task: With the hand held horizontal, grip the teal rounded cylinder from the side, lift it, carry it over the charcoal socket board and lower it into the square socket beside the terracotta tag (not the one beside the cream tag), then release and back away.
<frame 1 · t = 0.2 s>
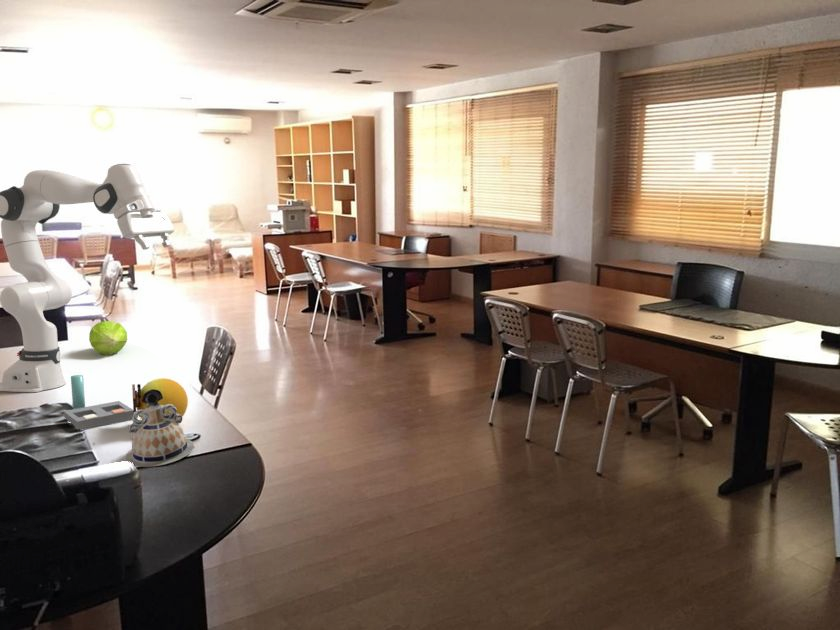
hand: (157, 247, 222), 54 cm above the table, fingers open, 8 cm apart
socket board: (99, 419, 215), on the table
figurine: (160, 455, 189), on the table
emoji: (161, 426, 211), on the table
teal rounded cylinder: (79, 411, 223), on the table
lettuce: (109, 353, 303), on the table
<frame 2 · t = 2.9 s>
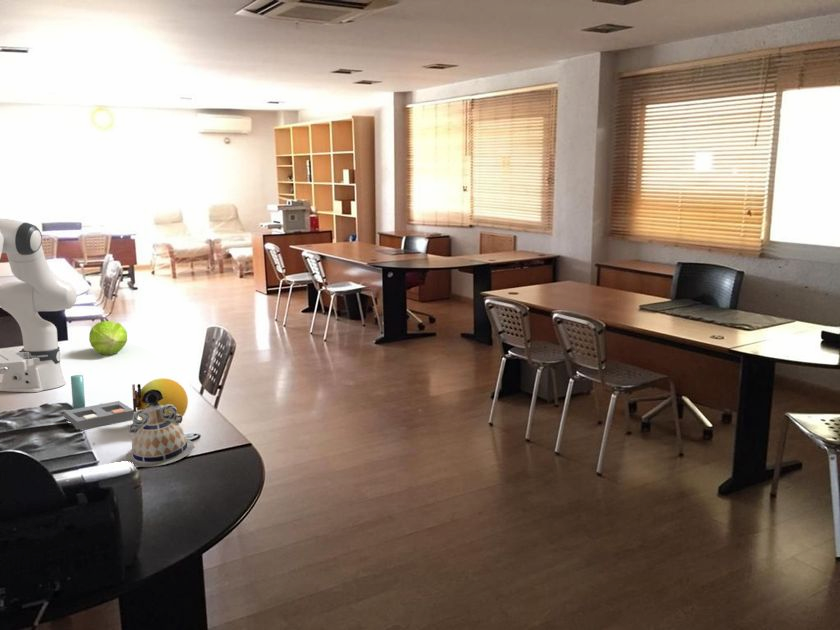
hand: (34, 357, 211), 20 cm above the table, fingers open, 8 cm apart
nothing on the table moved.
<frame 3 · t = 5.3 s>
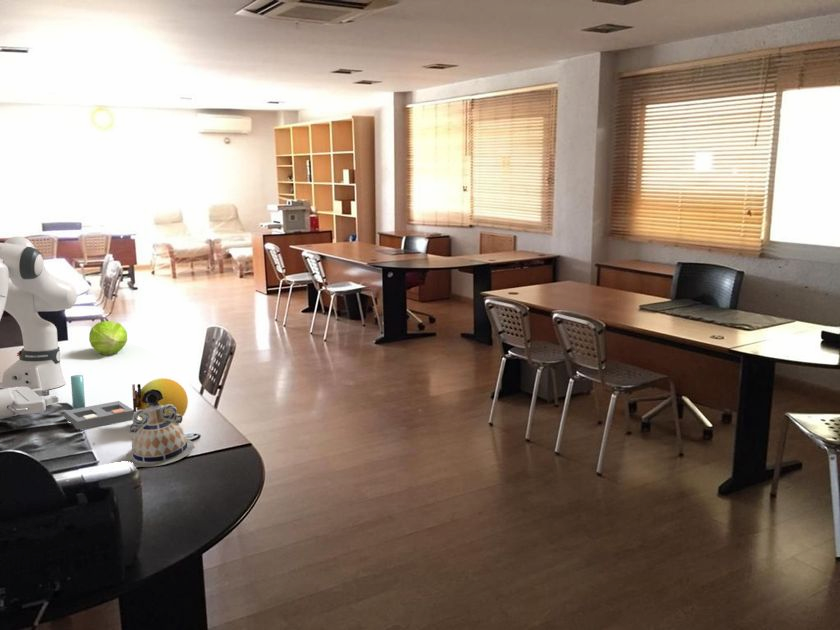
hand: (53, 395, 217), 7 cm above the table, fingers open, 8 cm apart
nothing on the table moved.
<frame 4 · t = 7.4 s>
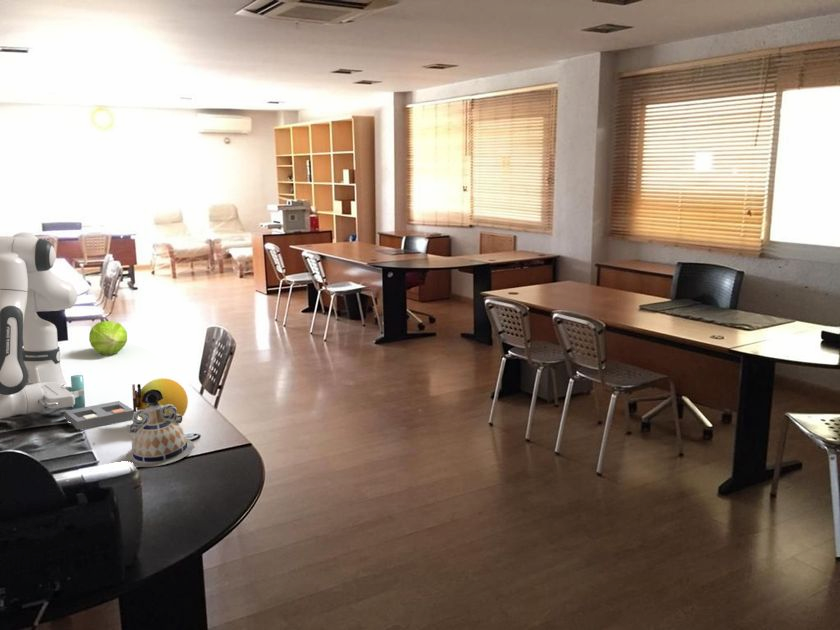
hand: (80, 390, 222), 7 cm above the table, fingers closed on teal rounded cylinder, 4 cm apart
teal rounded cylinder: (79, 411, 223), on the table, touching gripper
everything else where it was.
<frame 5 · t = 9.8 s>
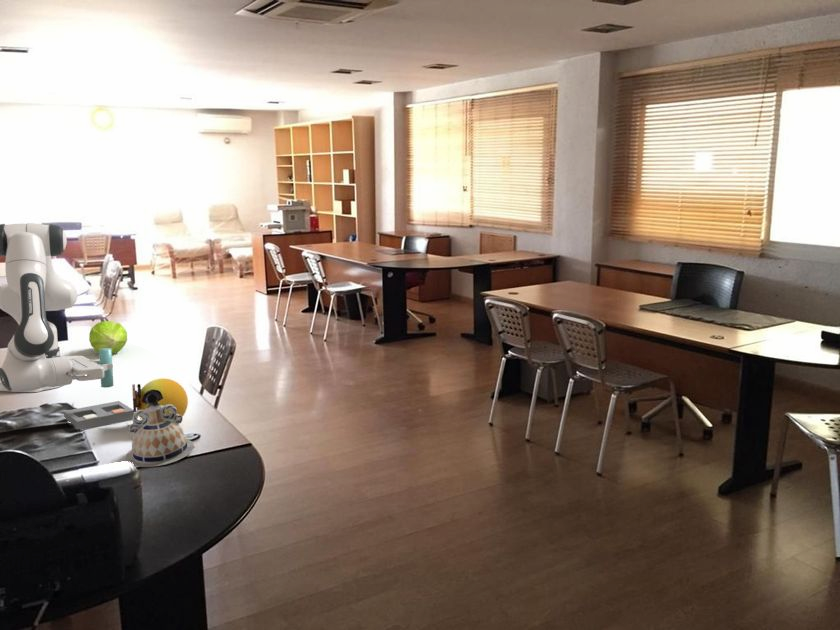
hand: (109, 364, 216), 17 cm above the table, fingers closed on teal rounded cylinder, 4 cm apart
teal rounded cylinder: (107, 386, 216), point 10 cm above the table, touching gripper
everything else where it was.
when the fingers open (8 cm above the table, at t = 12.5 s): teal rounded cylinder stays where it is, resting in socket board.
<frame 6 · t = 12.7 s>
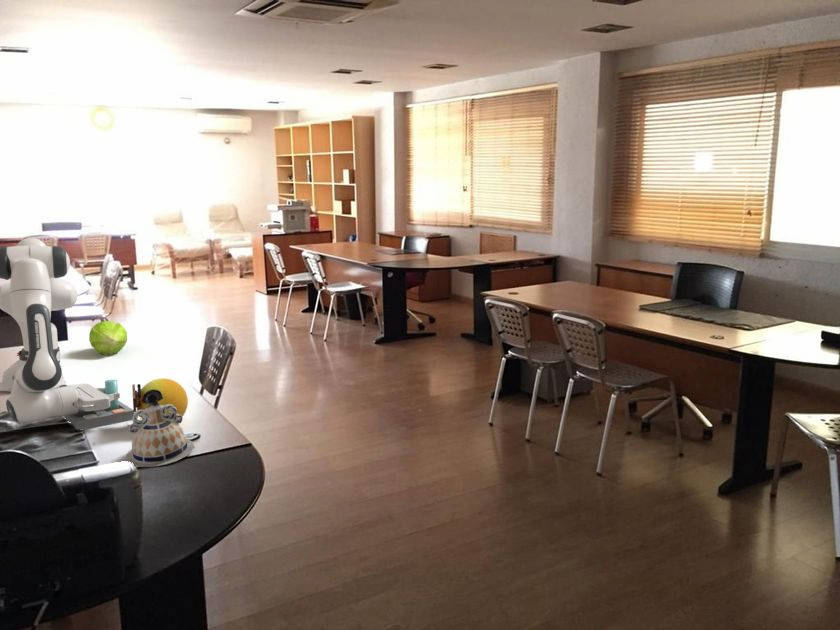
hand: (114, 392, 217), 8 cm above the table, fingers open, 6 cm apart
teal rounded cylinder: (113, 417, 218), resting in socket board
everything else where it was.
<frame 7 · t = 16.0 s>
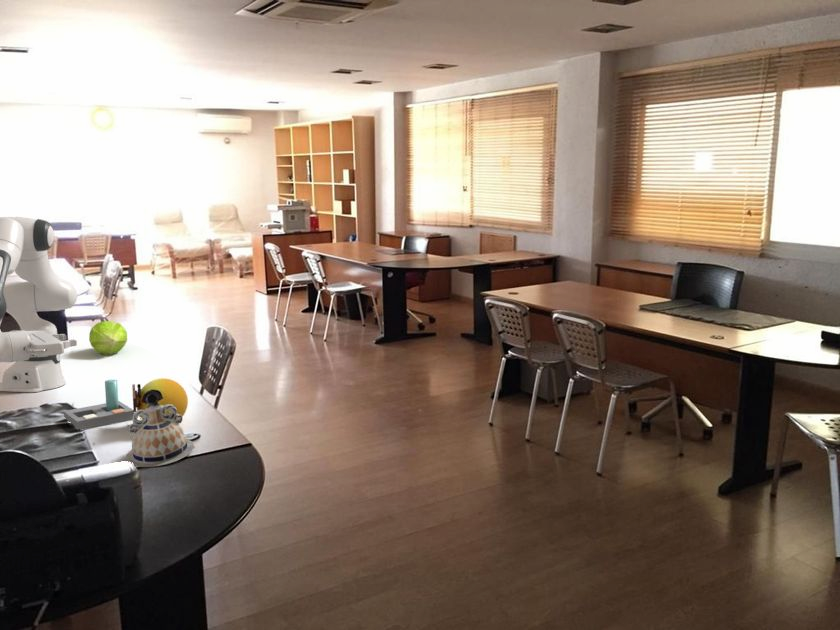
hand: (70, 339, 206), 27 cm above the table, fingers open, 8 cm apart
nothing on the table moved.
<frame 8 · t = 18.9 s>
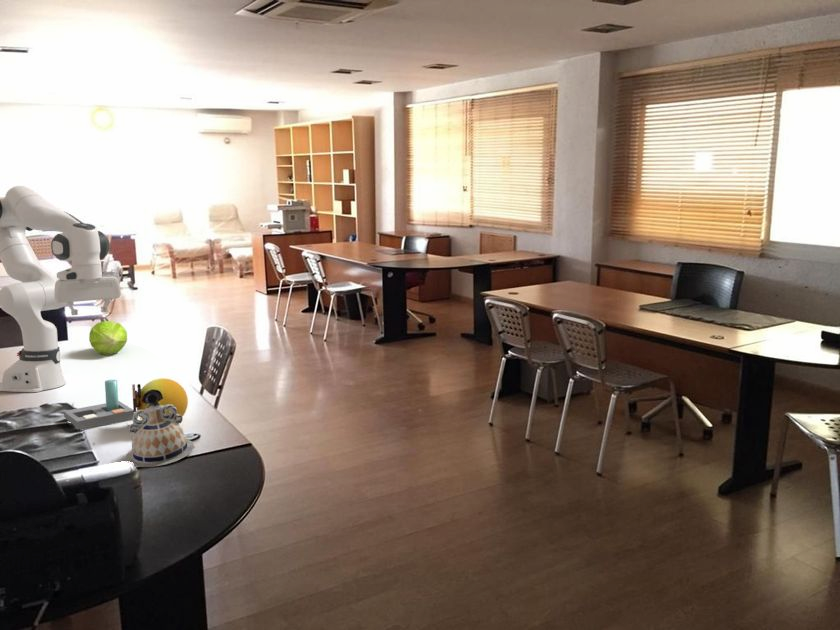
hand: (89, 313, 227), 31 cm above the table, fingers open, 8 cm apart
nothing on the table moved.
at the end: teal rounded cylinder 0.0 cm from the target spot on the socket board, point 0.0 cm above the socket board's base; teal rounded cylinder tilted 0°; the gripper is holding nothing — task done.
